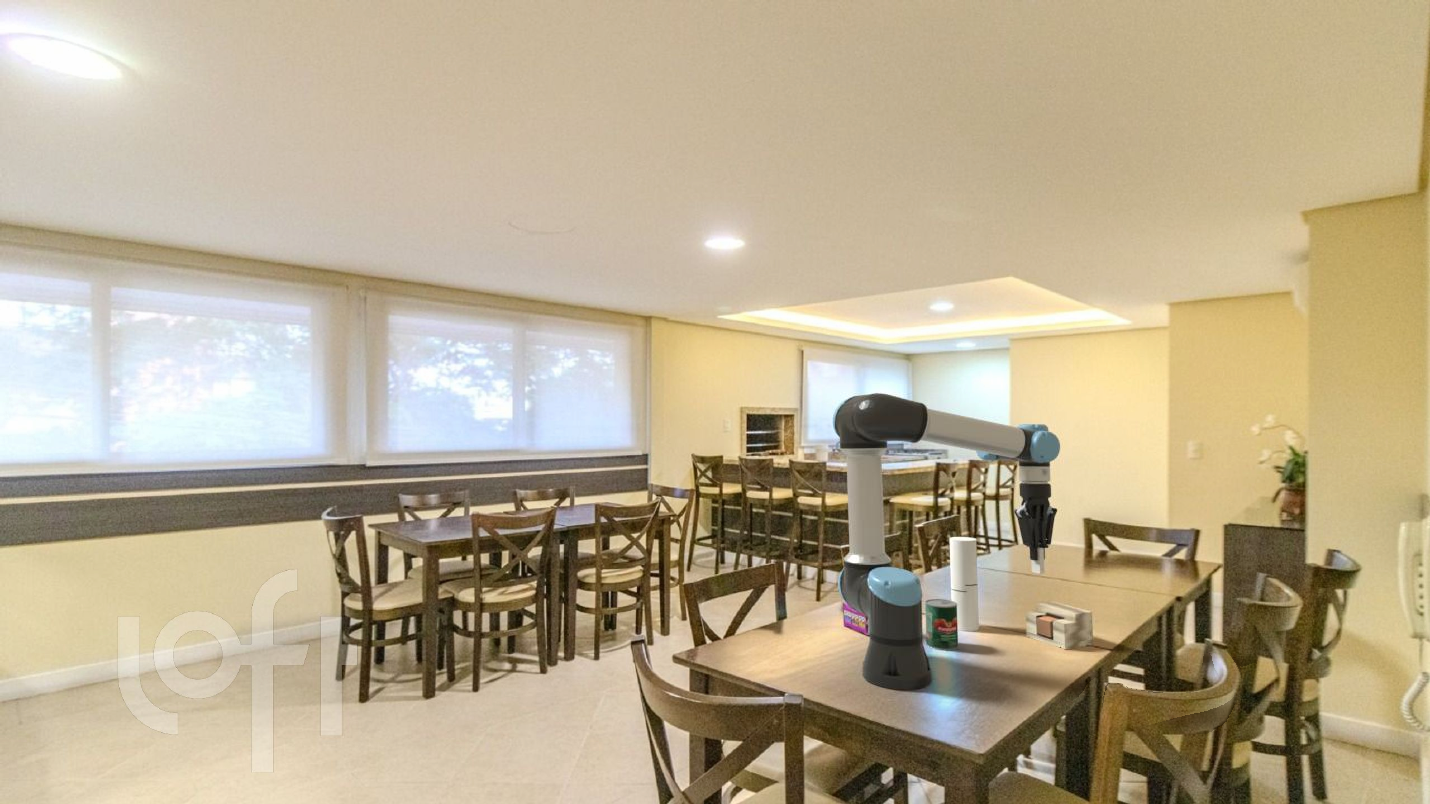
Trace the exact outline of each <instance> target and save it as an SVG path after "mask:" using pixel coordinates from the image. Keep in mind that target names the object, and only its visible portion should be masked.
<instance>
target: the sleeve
mask: <svg viewBox="0 0 1430 804" xmlns="http://www.w3.org/2000/svg"><path fill="white" fill-rule="evenodd" d="M1046 616H1054V617H1057V618H1060V620H1052V635H1053V637H1047V636H1044V635H1041V634H1038V633H1037V618H1040V617H1046ZM1093 627H1094V626H1093V612H1092V611H1090V610H1087V609H1083V608H1078V607H1076V606H1072V605H1067V604H1065V603H1061V602H1056V601H1046V602H1039V603H1038V602H1037V603H1036V610H1035V611H1034V610H1033V611H1027V612H1025V630H1026V631H1025V632H1026V637H1027V638H1029V637H1030V639H1032V638H1033V640H1036V641H1038V640H1039V641H1038V642H1041V641H1042V643H1044V642H1046V643H1045V644H1047V643H1049V644H1048V645H1050V644H1051V645H1050V646H1053V645H1054V646H1053V647H1056V646H1058V647H1057V648H1059V647H1061V648H1060V649H1062V648H1064V649H1066V650H1069V649H1068V648H1072V649H1076V648H1075V647H1078V648H1082V647H1081V646H1083V647H1087V646H1086V645H1089V646H1093V645H1094V634H1093V633H1094V632H1093V631H1094V630H1093ZM1092 644H1093V645H1092ZM1064 649H1063V650H1064Z"/></svg>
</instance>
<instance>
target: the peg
mask: <svg viewBox="0 0 1430 804" xmlns="http://www.w3.org/2000/svg"><path fill="white" fill-rule="evenodd" d="M1052 620H1060V618H1057V617H1054V616H1046V617H1040V618H1037V633H1038V634H1041V635H1044V636H1047V637H1053V635H1052Z"/></svg>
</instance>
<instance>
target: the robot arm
mask: <svg viewBox="0 0 1430 804" xmlns="http://www.w3.org/2000/svg"><path fill="white" fill-rule="evenodd" d="M832 426H833V429H834V432H835V433H836V435H837V436H838V438H839V450H840V451H841V452H842V453H843V454H844V455H845V457H846V476H847V477H846V479H847V481H846V483H847V486H846V487H847V512H848V536H849V537H848V538H849V539H848V540H849V541H848V543H849V552H848V553H847V554H846V555H845V556H844V558H843V568H842V570H841V571H840V573H839V575H838V578H837V589H838V592H839V595H840V598H842V600H844V601H845V602H846V603H847V604H848V606H850V607H851V608H852V609H853V610H855V611H857V612H860V613H861V614H863V615H865V616H866V617H868V618H869V631H870V635H869V642H868V645H867V648H866V651H865V652H866V653H865V655H864V660H863V662H862V665H861V666H862V678H864V679H865V680H866V681H868V682H869V683H871V684H874V685H876V686H879V687H882V688H883V687H884V688H886V689H894V690H895V689H896V690H916V689H917V690H918V689H922V688H924V687H928V686H929V685H930V684H931V683H932V682H933V675H932V674H933V673H932V672H933V671H932V668H931V664H930V662H929V661H930V660H929V658H928V655H927V653H926V649H925V647H924V641H923V639H924V638H923V602H922V601H923V600H922V599H923V590H922V583H921V580H920V578H919V577H918V575H916V574H915V573H914V572H912V571H910V570H907V569H901V568H899V567H893V565H892V558H891V557H890V556H889V555H888V553H886V549H885V548H886V546H885V523H884V521H885V519H884V518H885V517H884V491H883V465H882V461H883V460H882V459H883V458H882V457H883V454H884V453H885V452H886V451H887V450H888V442H906V443H912V444H916V443H917V444H918V443H919V442H921V441H924V442H929V443H934V444H939V445H944V446H950V447H954V448H955V447H956V448H960V449H965V450H971V451H975V452H976V454H977V456H978V457H979V458H980V459H981V460H983V461H989V462H990V461H991V462H995V461H998V462H999V461H1005V462H1007V461H1008V462H1018V480H1019V481H1020V482H1019V483H1020V484H1019V496H1020V498H1021V499H1022V500H1021V505H1020V508H1018V509H1016V508H1015V509H1014V515H1015V516H1016V518H1017V523H1018V526H1019V530H1020V531H1019V533H1020V536H1021V541H1022V544H1023V546H1026V547H1028V548H1029V560H1031V561H1030V563H1031V572H1032V573H1035V574H1040V575H1042V574H1045V559H1046V549H1048V548H1049V546H1050V545H1051V544H1052V539H1053V531H1054V524H1055V517H1056V515H1057V512H1058V509H1057V507H1052V506H1051V503H1050V501H1049V499H1050V498H1051V497H1052V485H1051V484H1050V483H1049V482H1051V462H1053V461H1054V460H1056V459H1057V458H1058V456H1059V454H1060V451H1061V443H1060V440H1059V438H1058V436H1057V435H1056V434H1054V433H1053V432H1051V431H1049V427H1048V426H1047V425H1046V424H1042V423H1038V424H1037V423H1036V424H1034V423H1033V424H1029V423H1028V424H1018V425H1017V427H1016V426H1012V425H1007V424H1002V423H998V422H993V421H988V420H983V419H978V418H974V417H969V416H964V415H960V414H955V413H952V412H951V413H950V412H945V411H941V410H937V409H936V410H935V409H931V408H928V407H927V405H926V404H925V403H923V402H918V401H915V400H911V399H908V398H903V397H900V396H895V395H893V394H887V393H882V392H881V393H879V392H876V393H875V392H873V393H869V394H861V395H853V396H851V397H849V398H847V399H844V400H842V401H841V402H840V403H839V404H838V406H837V407H836V408H835V409H834V413H833V415H832Z"/></svg>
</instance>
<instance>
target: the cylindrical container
mask: <svg viewBox="0 0 1430 804" xmlns="http://www.w3.org/2000/svg"><path fill="white" fill-rule="evenodd" d="M977 553H978V549H977V538H975V537H967V536H952V537H949V559H950V560H949V562H950V563H949V564H950V565H949V566H950V601H954V602H956V603H957V623H958V624H957V626H958V627H957V628H958V631H962V632H976V631H979V630H980V619H979V618H980V617H979V615H980V614H979V613H980V612H979V587H978V584H979V583H978V558H977V557H978V554H977ZM978 629H979V630H978Z"/></svg>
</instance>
